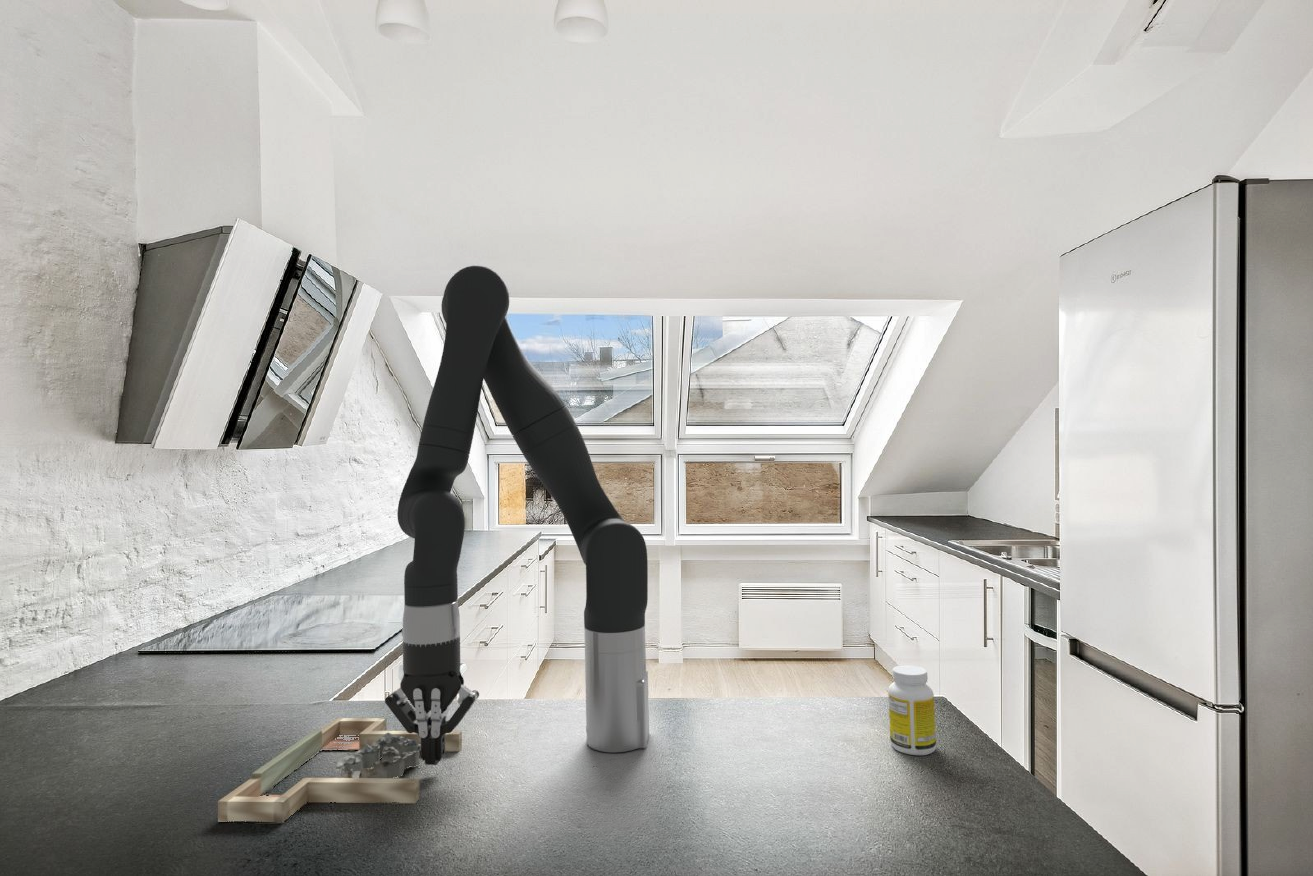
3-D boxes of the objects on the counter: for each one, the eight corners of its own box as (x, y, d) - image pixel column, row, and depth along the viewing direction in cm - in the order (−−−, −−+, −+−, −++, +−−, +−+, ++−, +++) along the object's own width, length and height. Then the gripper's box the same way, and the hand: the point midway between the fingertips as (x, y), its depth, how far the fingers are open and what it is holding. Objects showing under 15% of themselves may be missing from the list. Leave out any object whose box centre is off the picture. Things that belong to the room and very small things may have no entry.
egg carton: (373, 798, 87) (372, 765, 88) (329, 789, 90) (329, 757, 90) (430, 762, 97) (429, 733, 97) (389, 755, 100) (388, 727, 100)
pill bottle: (935, 741, 100) (932, 665, 100) (937, 759, 94) (934, 678, 94) (890, 736, 102) (887, 662, 102) (890, 754, 96) (887, 674, 96)
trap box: (473, 734, 106) (473, 715, 107) (397, 824, 80) (397, 798, 80) (336, 734, 108) (336, 715, 108) (217, 822, 82) (217, 797, 82)
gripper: (487, 627, 97) (489, 751, 97) (397, 628, 98) (398, 750, 97) (469, 641, 90) (471, 775, 89) (372, 642, 90) (373, 775, 90)
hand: (433, 762), depth 93 cm, fingers closed
